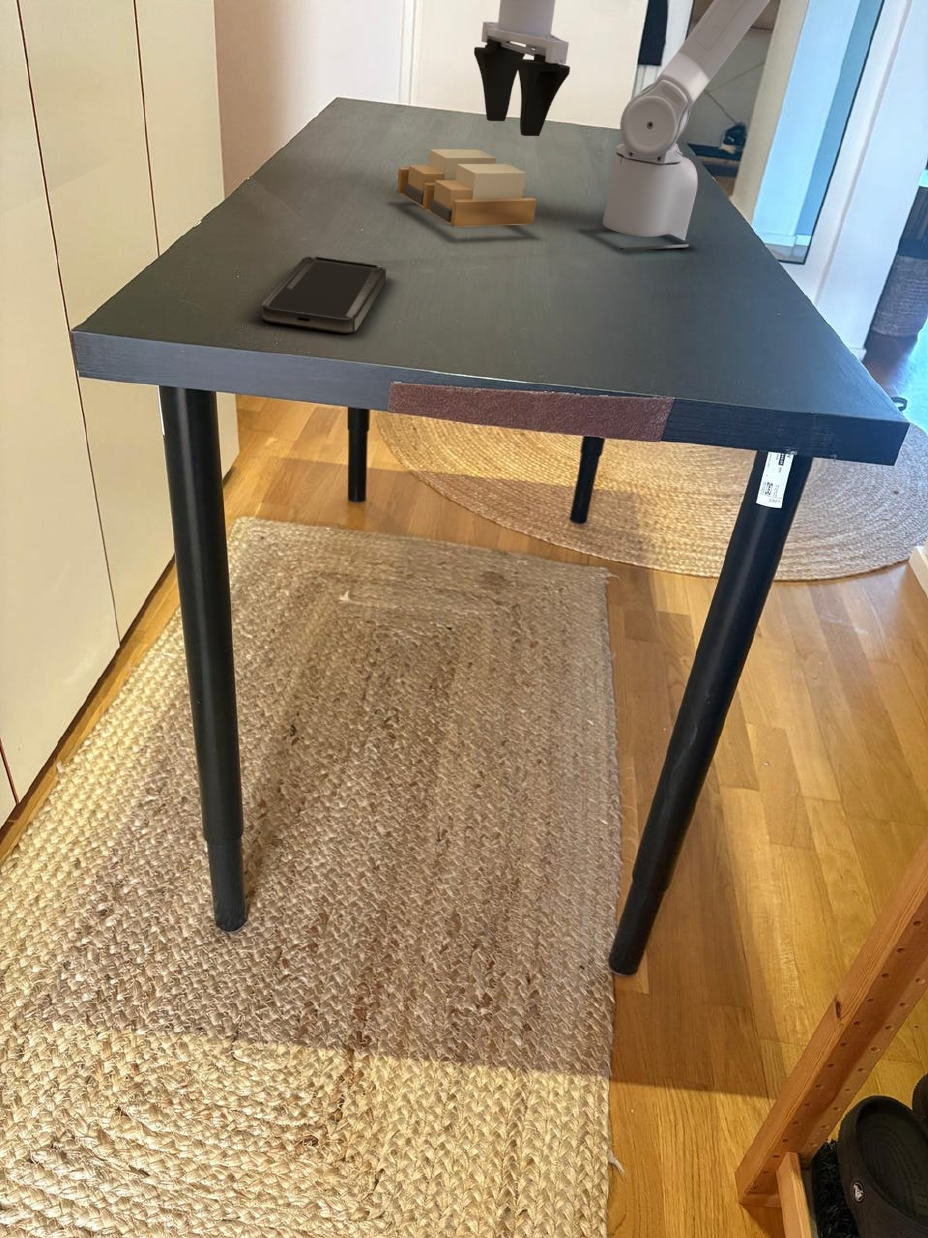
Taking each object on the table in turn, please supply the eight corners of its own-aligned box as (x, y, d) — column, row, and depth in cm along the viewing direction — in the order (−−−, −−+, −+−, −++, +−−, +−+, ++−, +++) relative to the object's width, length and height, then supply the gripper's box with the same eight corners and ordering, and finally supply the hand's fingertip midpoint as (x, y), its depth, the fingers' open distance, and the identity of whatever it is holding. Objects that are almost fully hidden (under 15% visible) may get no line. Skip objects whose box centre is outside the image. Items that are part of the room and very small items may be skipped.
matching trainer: (476, 192, 110) (481, 148, 107) (494, 202, 107) (499, 157, 104) (404, 194, 106) (406, 148, 103) (421, 204, 103) (424, 157, 100)
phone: (388, 266, 85) (354, 320, 73) (387, 279, 85) (353, 334, 74) (304, 254, 85) (257, 306, 73) (304, 267, 86) (257, 320, 74)
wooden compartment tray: (470, 202, 112) (474, 167, 110) (531, 237, 102) (536, 199, 100) (396, 204, 108) (398, 167, 105) (452, 240, 98) (456, 201, 96)
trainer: (504, 208, 105) (509, 163, 102) (523, 219, 102) (529, 172, 99) (429, 210, 101) (433, 163, 98) (447, 221, 98) (452, 173, 95)
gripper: (463, -30, 98) (451, 113, 106) (534, -15, 88) (514, 141, 96) (519, -25, 101) (503, 114, 109) (594, -9, 91) (570, 142, 99)
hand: (512, 127), depth 103 cm, fingers open, 7 cm apart
